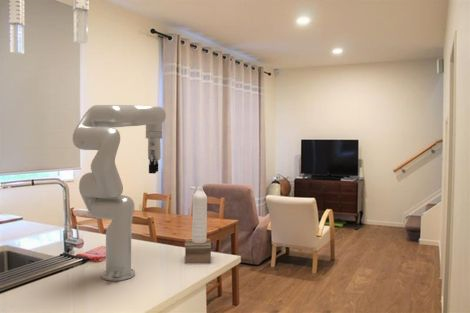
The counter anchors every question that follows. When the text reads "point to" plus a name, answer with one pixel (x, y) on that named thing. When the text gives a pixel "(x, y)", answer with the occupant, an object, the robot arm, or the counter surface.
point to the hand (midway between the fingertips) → (153, 172)
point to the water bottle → (199, 216)
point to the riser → (197, 252)
